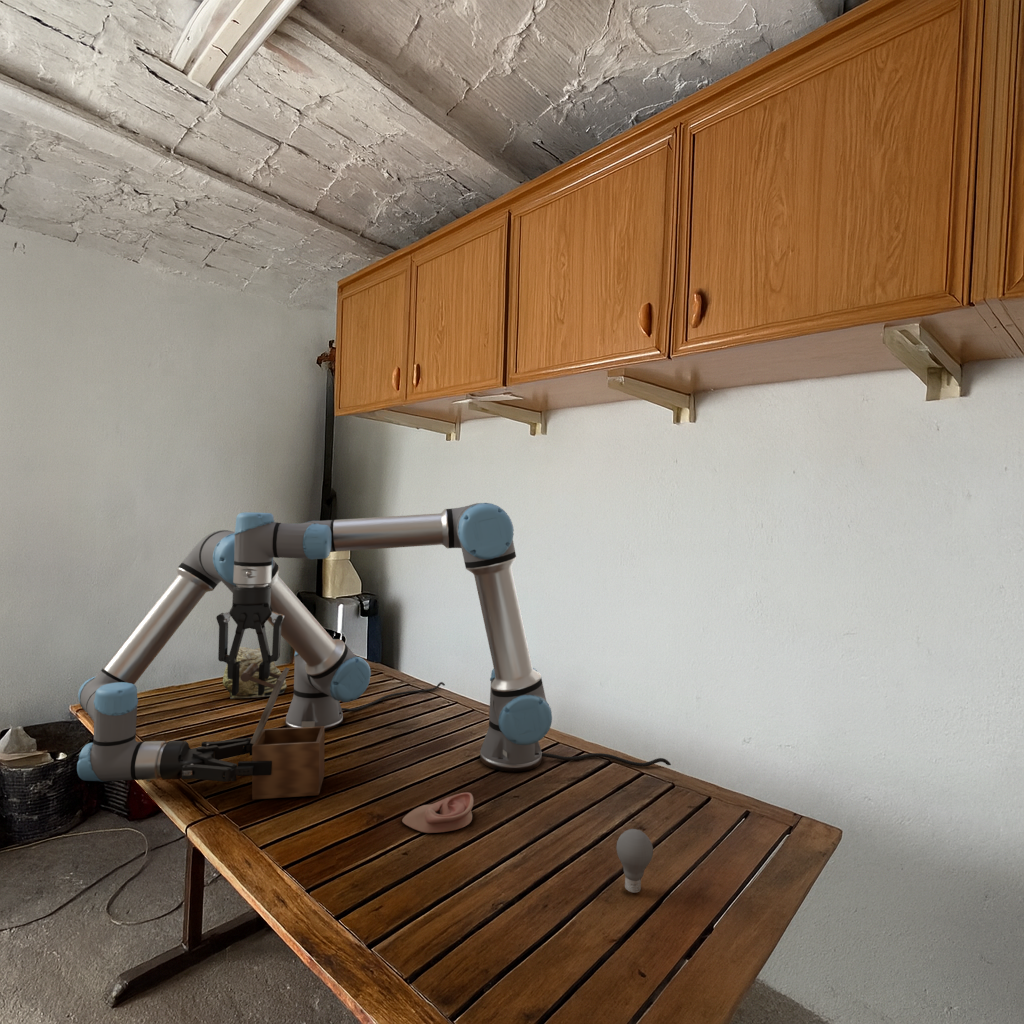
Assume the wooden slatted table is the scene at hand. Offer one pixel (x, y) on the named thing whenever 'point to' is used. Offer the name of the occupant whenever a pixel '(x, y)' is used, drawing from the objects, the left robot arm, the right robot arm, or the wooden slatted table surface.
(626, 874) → the light bulb
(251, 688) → the fossil
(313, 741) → the chest
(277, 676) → the lid
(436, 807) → the anatomical model
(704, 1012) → the wooden slatted table surface
